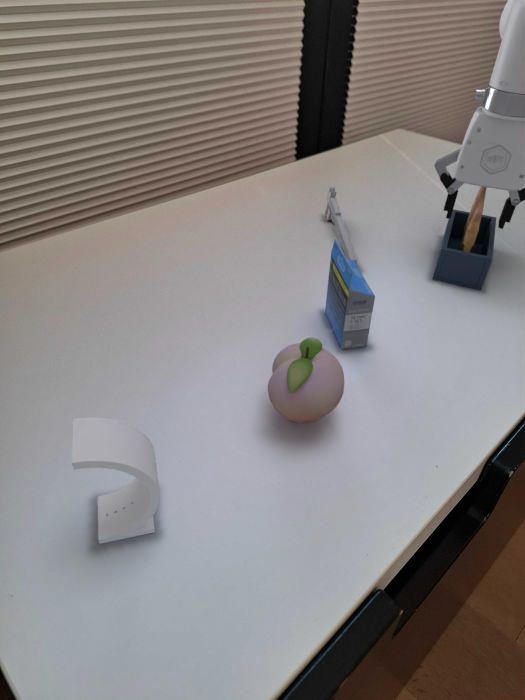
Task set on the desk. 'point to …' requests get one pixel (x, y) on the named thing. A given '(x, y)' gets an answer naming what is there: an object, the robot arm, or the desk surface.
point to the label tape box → (348, 301)
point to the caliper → (338, 223)
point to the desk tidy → (465, 264)
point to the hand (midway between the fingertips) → (474, 219)
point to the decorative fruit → (305, 382)
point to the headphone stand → (124, 455)
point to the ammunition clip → (473, 223)
